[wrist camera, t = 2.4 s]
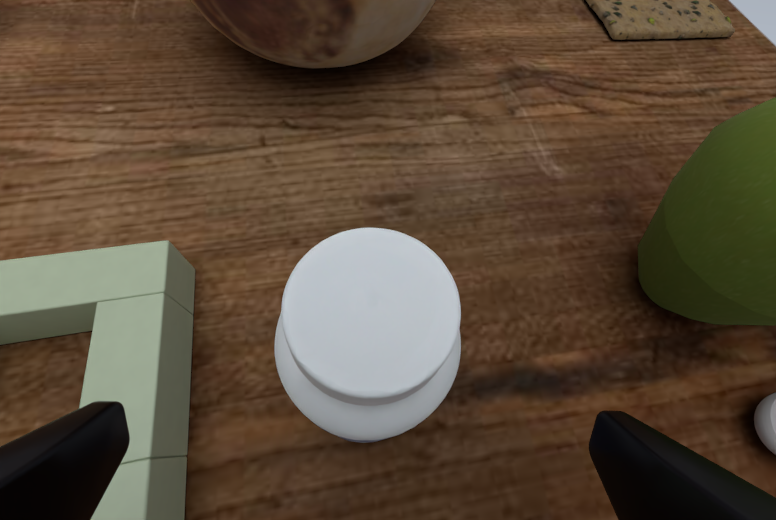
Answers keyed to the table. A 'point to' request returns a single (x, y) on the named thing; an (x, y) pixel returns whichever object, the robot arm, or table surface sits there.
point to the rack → (120, 355)
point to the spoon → (766, 422)
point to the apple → (719, 228)
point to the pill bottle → (368, 334)
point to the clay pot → (315, 28)
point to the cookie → (661, 19)
